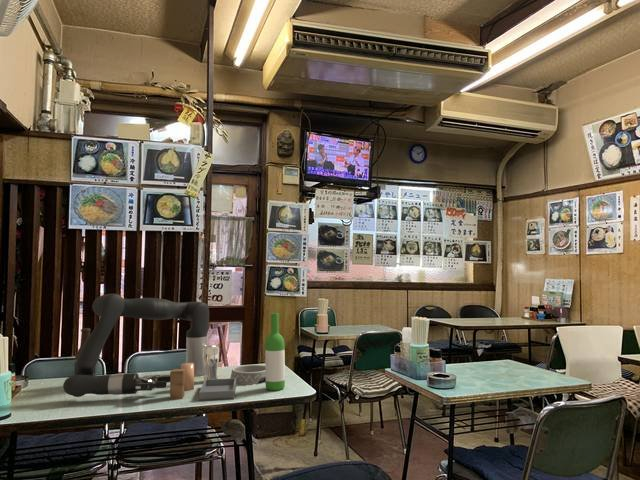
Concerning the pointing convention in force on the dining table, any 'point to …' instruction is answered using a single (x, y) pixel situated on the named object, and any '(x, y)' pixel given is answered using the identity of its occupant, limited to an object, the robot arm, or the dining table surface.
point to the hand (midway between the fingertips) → (168, 381)
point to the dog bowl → (248, 374)
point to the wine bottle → (274, 357)
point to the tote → (217, 389)
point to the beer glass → (210, 361)
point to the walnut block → (177, 383)
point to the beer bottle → (84, 337)
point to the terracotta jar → (188, 376)
